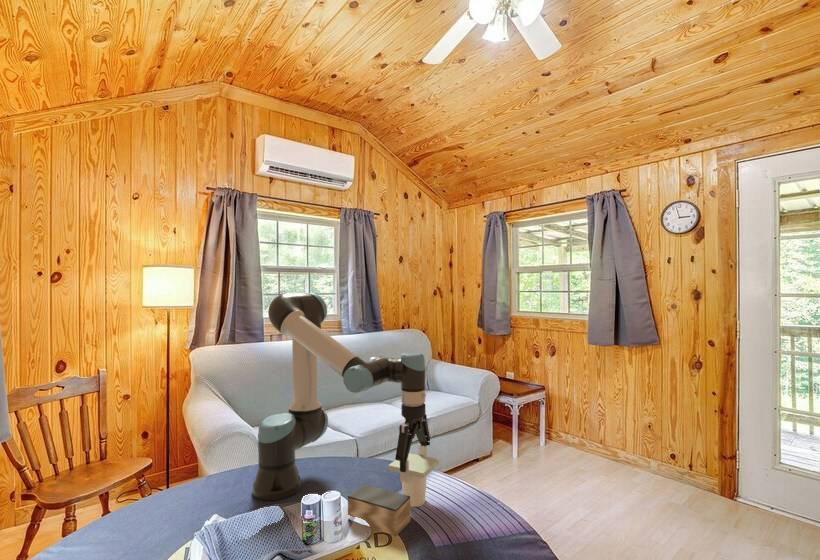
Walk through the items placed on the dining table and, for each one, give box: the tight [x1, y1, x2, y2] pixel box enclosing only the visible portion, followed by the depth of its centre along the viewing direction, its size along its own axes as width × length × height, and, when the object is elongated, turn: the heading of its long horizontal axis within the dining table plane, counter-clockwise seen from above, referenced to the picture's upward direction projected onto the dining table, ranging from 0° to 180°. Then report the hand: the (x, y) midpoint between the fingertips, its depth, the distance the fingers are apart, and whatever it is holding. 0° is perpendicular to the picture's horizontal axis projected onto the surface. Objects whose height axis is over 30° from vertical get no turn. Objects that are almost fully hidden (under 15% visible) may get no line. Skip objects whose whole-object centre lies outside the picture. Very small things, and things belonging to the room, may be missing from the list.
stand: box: [347, 483, 411, 537], centre depth 118 cm, size 16×8×7 cm, turn 62°
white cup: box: [401, 475, 427, 508], centre depth 129 cm, size 8×8×10 cm
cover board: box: [387, 452, 440, 478], centre depth 129 cm, size 12×11×2 cm
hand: (414, 473), depth 129 cm, fingers open, 11 cm apart
